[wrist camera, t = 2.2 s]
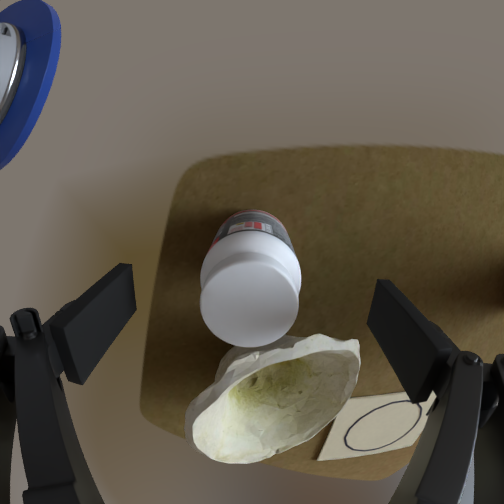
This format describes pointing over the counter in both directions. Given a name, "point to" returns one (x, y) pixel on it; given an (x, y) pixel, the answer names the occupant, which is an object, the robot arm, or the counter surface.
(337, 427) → the beige flat square sheet
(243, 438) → the bowl
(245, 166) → the counter surface
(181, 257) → the counter surface
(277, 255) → the pill bottle
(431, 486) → the robot arm
